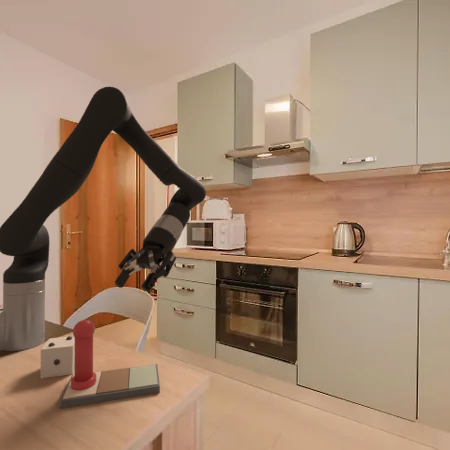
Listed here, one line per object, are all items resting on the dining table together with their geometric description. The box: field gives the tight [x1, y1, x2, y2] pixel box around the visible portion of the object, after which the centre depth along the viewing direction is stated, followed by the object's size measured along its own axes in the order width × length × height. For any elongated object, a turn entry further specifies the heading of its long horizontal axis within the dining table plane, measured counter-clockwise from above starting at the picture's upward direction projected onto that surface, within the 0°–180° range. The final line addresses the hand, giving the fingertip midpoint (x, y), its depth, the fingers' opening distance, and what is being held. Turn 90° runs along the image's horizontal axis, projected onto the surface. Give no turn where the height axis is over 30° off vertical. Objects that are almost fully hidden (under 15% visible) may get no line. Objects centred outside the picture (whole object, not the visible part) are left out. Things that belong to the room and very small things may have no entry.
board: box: [59, 363, 161, 409], centre depth 56 cm, size 17×9×1 cm, turn 106°
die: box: [40, 335, 75, 379], centre depth 63 cm, size 6×7×7 cm
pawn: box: [71, 319, 96, 390], centre depth 55 cm, size 4×4×12 cm
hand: (130, 287), depth 65 cm, fingers open, 8 cm apart
